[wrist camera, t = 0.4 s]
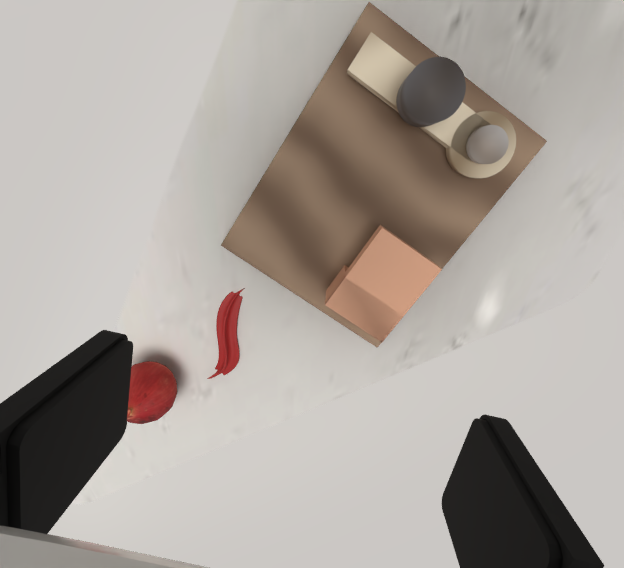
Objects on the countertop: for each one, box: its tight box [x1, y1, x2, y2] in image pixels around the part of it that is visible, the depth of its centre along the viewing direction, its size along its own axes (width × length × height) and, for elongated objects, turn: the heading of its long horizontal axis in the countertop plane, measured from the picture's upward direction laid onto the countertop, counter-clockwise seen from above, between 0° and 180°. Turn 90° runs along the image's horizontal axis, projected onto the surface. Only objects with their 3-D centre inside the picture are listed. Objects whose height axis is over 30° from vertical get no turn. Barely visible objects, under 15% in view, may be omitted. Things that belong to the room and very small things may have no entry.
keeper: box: [325, 225, 442, 342], centre depth 34 cm, size 8×6×4 cm
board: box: [221, 2, 547, 347], centre depth 33 cm, size 23×18×5 cm
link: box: [347, 32, 516, 178], centre depth 29 cm, size 14×5×6 cm, turn 56°
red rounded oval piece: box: [127, 361, 177, 424], centre depth 39 cm, size 6×6×8 cm
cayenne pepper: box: [208, 288, 245, 379], centre depth 40 cm, size 12×5×2 cm, turn 149°
